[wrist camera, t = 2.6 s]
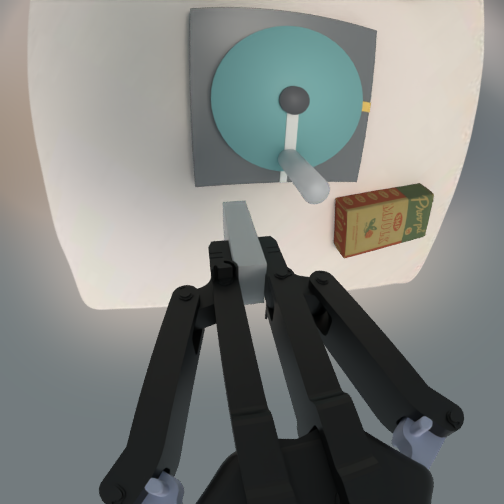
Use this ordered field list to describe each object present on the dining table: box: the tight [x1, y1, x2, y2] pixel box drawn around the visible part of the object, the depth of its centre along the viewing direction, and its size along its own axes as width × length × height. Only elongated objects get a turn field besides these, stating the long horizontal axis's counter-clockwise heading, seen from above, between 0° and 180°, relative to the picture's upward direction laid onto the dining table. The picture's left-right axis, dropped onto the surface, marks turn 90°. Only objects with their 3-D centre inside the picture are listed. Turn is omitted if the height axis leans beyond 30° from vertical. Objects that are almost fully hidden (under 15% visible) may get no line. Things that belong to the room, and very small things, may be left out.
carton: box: [334, 183, 434, 258], centre depth 38 cm, size 8×16×4 cm, turn 98°
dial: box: [211, 26, 363, 204], centre depth 22 cm, size 16×16×10 cm
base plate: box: [190, 7, 377, 187], centre depth 26 cm, size 20×20×2 cm
